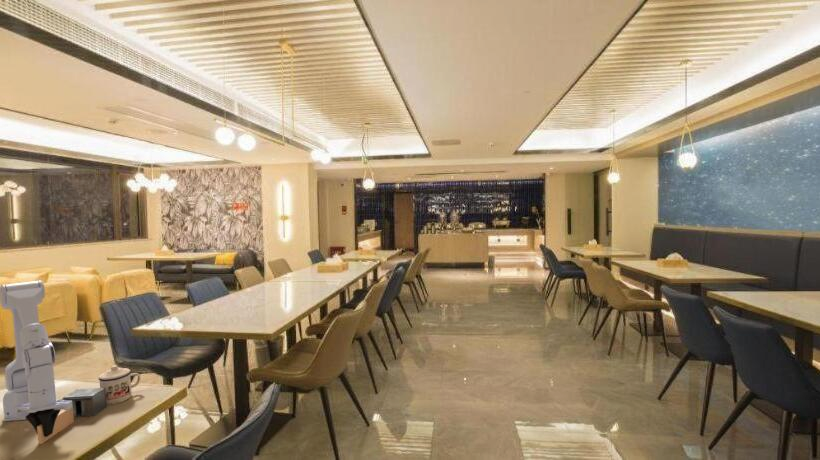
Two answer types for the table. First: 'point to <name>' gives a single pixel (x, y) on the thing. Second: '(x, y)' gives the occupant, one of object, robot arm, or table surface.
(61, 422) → the long wooden plank
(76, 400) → the dispenser
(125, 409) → the table surface
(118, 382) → the teacup with lid
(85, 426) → the table surface
